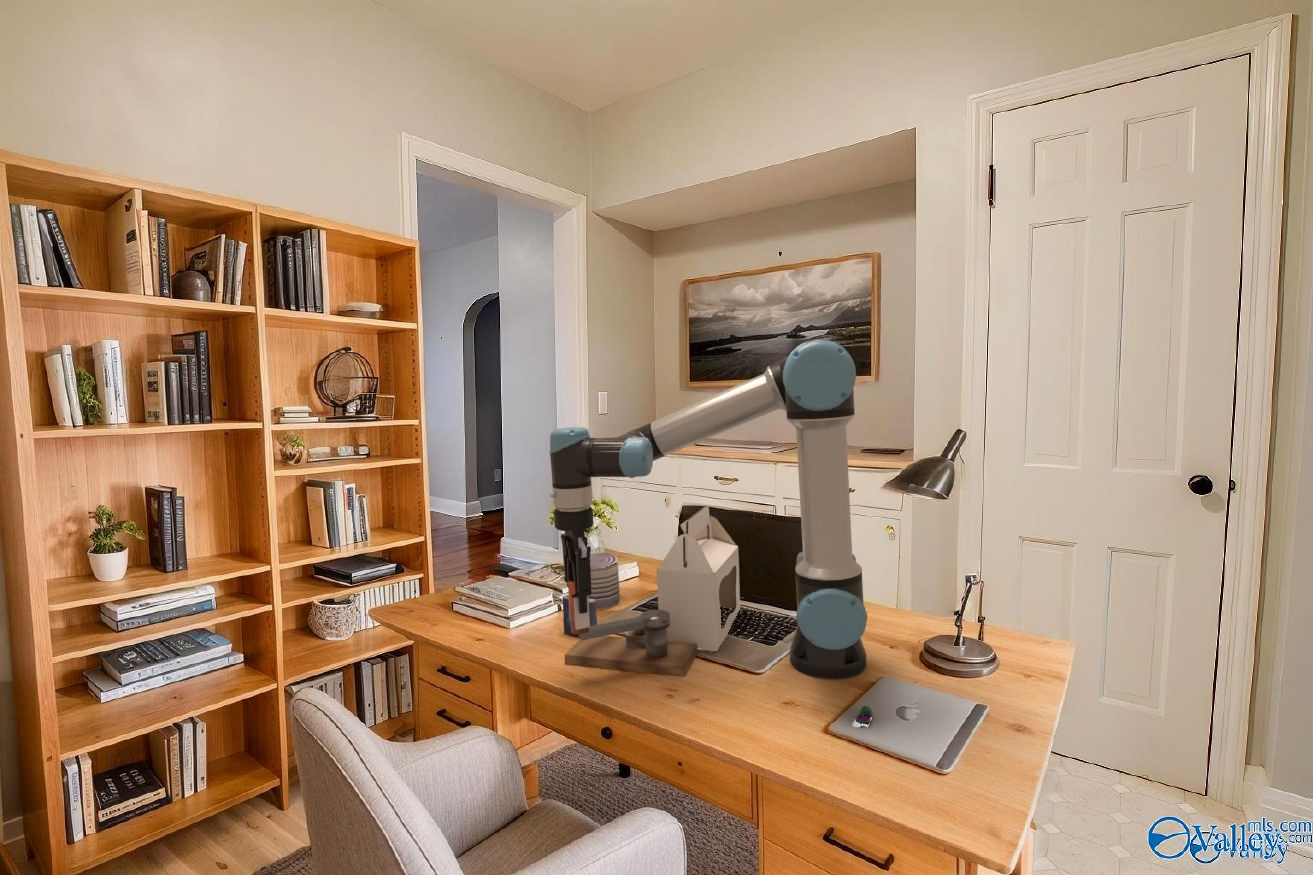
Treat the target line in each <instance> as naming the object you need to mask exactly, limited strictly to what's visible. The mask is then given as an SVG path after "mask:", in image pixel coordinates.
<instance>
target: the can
mask: <svg viewBox="0 0 1313 875" xmlns="http://www.w3.org/2000/svg"><path fill="white" fill-rule="evenodd" d="M590 568H591V591H592V593H591V595H589V596H588V599H595V600H596V611H602V610H607V609H608V610H609V609H611V608H613V607H616V606H618V605H619V604H620V600H621V598H620V578H619V577H620V576H619V555H618V554H614V553H610V552H606V551H605V552H594V553H592V552H591V553H590Z"/></svg>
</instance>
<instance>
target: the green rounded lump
mask: <svg viewBox="0 0 1313 875" xmlns="http://www.w3.org/2000/svg"><path fill="white" fill-rule="evenodd" d="M871 717H872V718H873V709H871V707H869V706H866V705H865V706H862V707H861V708H860V710H859V714H858V716H857V717H856V718H857V719H856V718H855V719H856V722H858V723H860V724H862V723H863V724H867V725H868V724H869V722H870V723H871V721H870V718H871Z"/></svg>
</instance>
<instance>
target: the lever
mask: <svg viewBox="0 0 1313 875" xmlns="http://www.w3.org/2000/svg"><path fill="white" fill-rule="evenodd" d="M567 589H569V605H570V622H571V632H572V633H573V634H579V637H580V638H579V639H582V640H587V639H592V638H597V637H602V636H613V635H617V634H621V633H625V632H626V633H628V632H629V631H632V630H637V629H642V628H644V629H647V630H661V629H665V628H667V627H668V626H669V625H670V614H669V613H668V612H667V611H664V610H658V609H651V610H646V611H644V612H642V613H641V614H640V615H639V616H640V617H637V616H635V617H630V618H626V619H621V620H616V621H610V622H605V623H600V624H597V625H594V626H590V627H588V628H583V629H577V630H576V628H575V611H574V598H572V595H573V594H575V587H574V579H572V580H570V581H568V586H567Z"/></svg>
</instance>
